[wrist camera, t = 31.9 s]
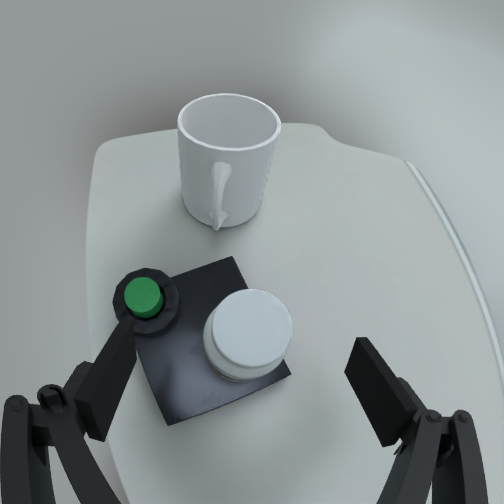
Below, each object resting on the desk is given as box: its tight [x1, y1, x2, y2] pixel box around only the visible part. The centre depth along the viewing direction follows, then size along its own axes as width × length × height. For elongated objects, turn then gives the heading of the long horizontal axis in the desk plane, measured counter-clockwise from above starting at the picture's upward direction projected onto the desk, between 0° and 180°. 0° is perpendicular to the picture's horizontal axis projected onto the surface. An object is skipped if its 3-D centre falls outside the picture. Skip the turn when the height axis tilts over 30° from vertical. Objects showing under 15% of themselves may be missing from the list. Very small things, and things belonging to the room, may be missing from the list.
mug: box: [177, 94, 281, 231], centre depth 28 cm, size 10×12×12 cm
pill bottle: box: [203, 289, 293, 382], centre depth 20 cm, size 6×6×10 cm
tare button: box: [124, 277, 163, 318], centre depth 23 cm, size 3×3×2 cm
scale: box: [113, 256, 291, 426], centre depth 25 cm, size 12×14×3 cm
